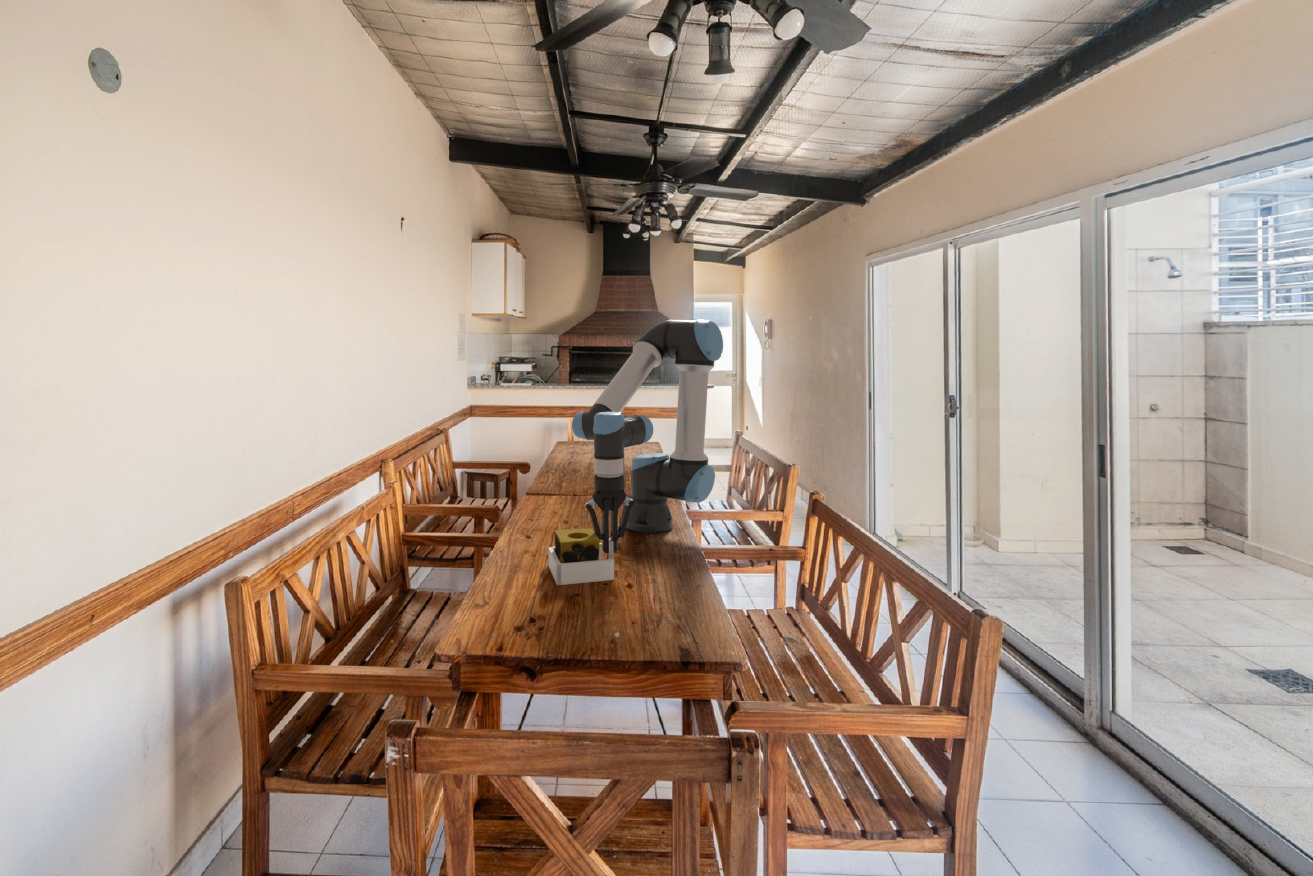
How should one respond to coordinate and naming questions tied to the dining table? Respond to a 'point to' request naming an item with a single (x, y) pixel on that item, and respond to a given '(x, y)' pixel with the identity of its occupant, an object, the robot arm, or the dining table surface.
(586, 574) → the frame
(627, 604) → the dining table surface
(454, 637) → the dining table surface
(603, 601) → the dining table surface
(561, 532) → the candle
